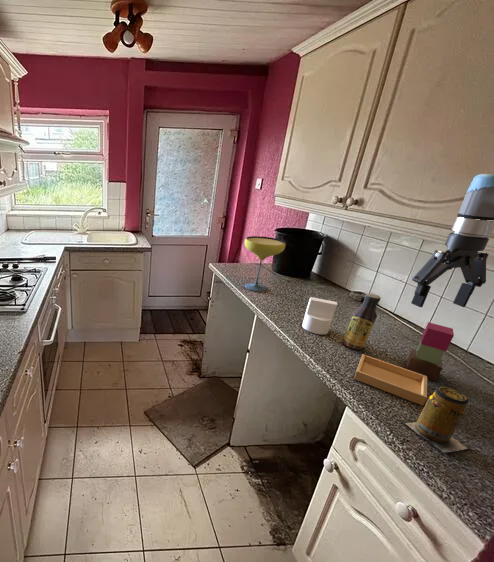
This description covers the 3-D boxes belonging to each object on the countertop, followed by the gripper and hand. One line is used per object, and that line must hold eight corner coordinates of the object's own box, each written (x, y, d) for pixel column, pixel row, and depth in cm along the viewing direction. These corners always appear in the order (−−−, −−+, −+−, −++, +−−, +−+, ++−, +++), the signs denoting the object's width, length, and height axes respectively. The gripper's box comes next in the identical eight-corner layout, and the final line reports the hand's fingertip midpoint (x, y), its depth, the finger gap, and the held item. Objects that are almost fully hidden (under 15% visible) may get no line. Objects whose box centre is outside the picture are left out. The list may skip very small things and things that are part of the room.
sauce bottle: (339, 344, 111) (357, 294, 104) (345, 338, 115) (362, 289, 108) (361, 353, 107) (381, 300, 99) (366, 346, 111) (385, 295, 103)
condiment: (427, 420, 79) (447, 382, 75) (468, 449, 71) (492, 408, 67) (404, 424, 78) (423, 385, 73) (443, 453, 70) (466, 412, 65)
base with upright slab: (327, 326, 124) (335, 299, 119) (329, 336, 116) (339, 308, 112) (301, 320, 127) (309, 294, 123) (302, 330, 120) (310, 302, 116)
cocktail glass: (251, 279, 171) (260, 234, 162) (282, 290, 157) (293, 242, 148) (229, 285, 162) (237, 238, 153) (260, 297, 148) (271, 246, 139)
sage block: (437, 358, 97) (444, 344, 95) (437, 364, 93) (444, 350, 91) (416, 351, 100) (422, 337, 98) (415, 357, 96) (422, 344, 94)
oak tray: (423, 383, 92) (427, 376, 91) (423, 405, 84) (427, 397, 83) (359, 361, 102) (362, 353, 101) (353, 378, 94) (356, 371, 93)
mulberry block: (445, 344, 95) (452, 328, 93) (446, 351, 91) (454, 335, 89) (421, 337, 98) (428, 322, 96) (420, 344, 94) (428, 328, 92)
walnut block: (435, 371, 98) (441, 358, 97) (435, 381, 94) (442, 367, 92) (406, 361, 103) (412, 348, 101) (405, 371, 98) (411, 357, 96)
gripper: (494, 231, 88) (462, 299, 96) (413, 230, 86) (387, 299, 94) (528, 238, 81) (491, 310, 89) (441, 236, 79) (410, 311, 87)
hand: (437, 305), depth 92 cm, fingers open, 13 cm apart
